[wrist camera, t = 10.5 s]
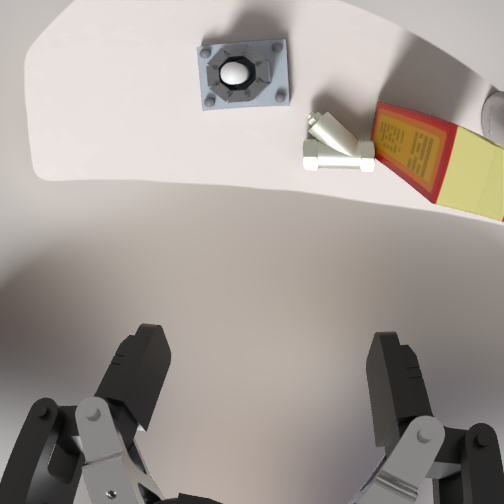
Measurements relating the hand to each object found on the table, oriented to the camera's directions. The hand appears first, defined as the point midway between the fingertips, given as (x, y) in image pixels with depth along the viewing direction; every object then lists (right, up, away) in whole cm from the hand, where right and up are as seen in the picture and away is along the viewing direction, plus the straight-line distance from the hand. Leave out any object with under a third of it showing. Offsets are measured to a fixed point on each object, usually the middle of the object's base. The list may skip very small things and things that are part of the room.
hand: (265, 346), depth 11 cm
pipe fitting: (+10, +17, +23) cm, 30 cm away
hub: (-1, +23, +19) cm, 30 cm away
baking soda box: (+18, +18, +22) cm, 33 cm away
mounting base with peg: (-1, +24, +20) cm, 32 cm away
